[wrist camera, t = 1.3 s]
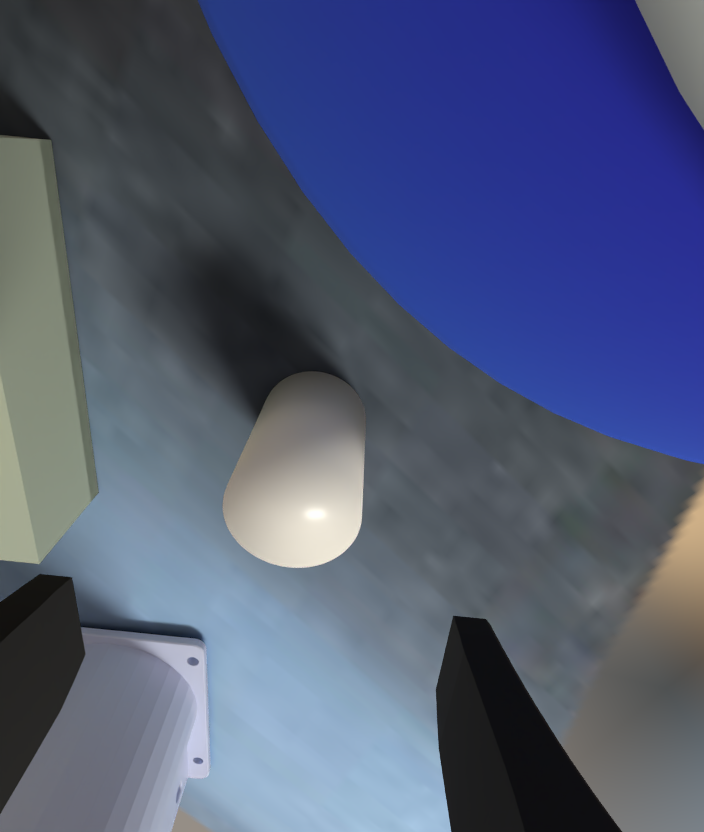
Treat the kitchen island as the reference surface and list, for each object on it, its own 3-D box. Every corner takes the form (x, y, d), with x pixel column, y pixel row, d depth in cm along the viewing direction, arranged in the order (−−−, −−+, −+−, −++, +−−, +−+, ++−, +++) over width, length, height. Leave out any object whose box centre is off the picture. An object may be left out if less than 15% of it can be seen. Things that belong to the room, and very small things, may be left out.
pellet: (360, 468, 20) (354, 573, 15) (262, 458, 20) (223, 560, 15) (371, 376, 18) (368, 460, 13) (264, 366, 18) (221, 445, 13)
